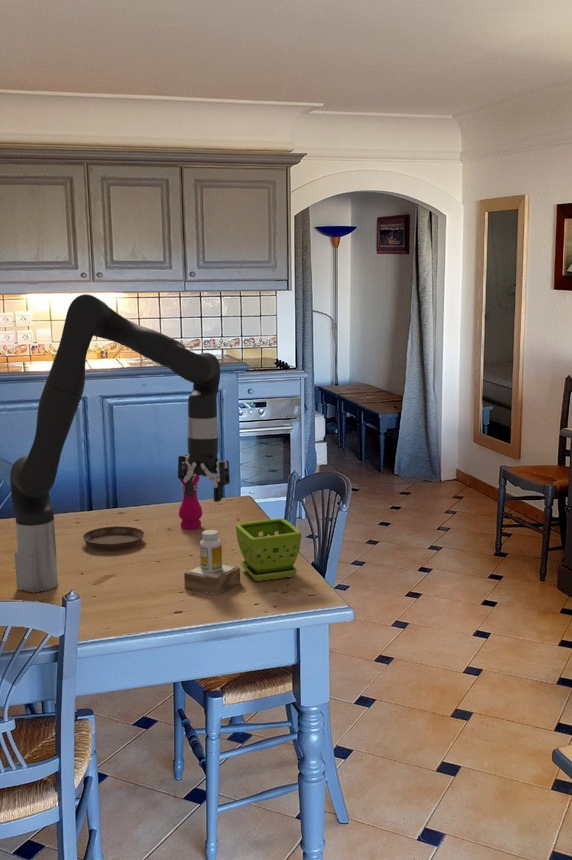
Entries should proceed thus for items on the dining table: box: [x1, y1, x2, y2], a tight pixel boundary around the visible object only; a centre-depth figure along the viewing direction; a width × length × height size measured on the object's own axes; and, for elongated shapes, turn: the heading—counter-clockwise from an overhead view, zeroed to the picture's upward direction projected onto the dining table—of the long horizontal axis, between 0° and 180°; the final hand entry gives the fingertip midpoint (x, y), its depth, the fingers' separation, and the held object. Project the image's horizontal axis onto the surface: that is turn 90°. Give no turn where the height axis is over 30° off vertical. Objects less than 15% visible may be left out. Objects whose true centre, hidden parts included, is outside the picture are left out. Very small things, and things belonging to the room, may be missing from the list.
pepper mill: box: [178, 463, 203, 531], centre depth 266 cm, size 7×7×20 cm
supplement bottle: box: [199, 529, 223, 572], centre depth 216 cm, size 5×5×10 cm
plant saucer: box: [82, 525, 145, 552], centre depth 252 cm, size 18×18×3 cm
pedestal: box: [183, 563, 241, 595], centre depth 217 cm, size 10×10×4 cm
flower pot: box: [235, 518, 302, 582], centre depth 224 cm, size 14×14×13 cm
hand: (203, 498), depth 214 cm, fingers open, 8 cm apart
